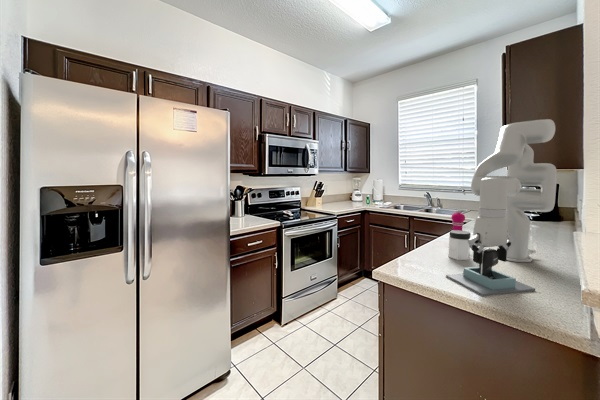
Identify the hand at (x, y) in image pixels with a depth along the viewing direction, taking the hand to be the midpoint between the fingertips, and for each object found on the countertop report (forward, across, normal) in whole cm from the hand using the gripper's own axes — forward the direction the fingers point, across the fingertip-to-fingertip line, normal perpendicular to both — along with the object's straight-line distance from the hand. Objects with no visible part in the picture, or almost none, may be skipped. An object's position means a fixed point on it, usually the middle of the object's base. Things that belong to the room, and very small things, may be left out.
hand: (489, 261), depth 91 cm
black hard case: (+7, 0, 0) cm, 7 cm away
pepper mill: (+9, -22, -41) cm, 47 cm away
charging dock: (+8, 0, 0) cm, 8 cm away
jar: (+8, -12, -27) cm, 30 cm away
